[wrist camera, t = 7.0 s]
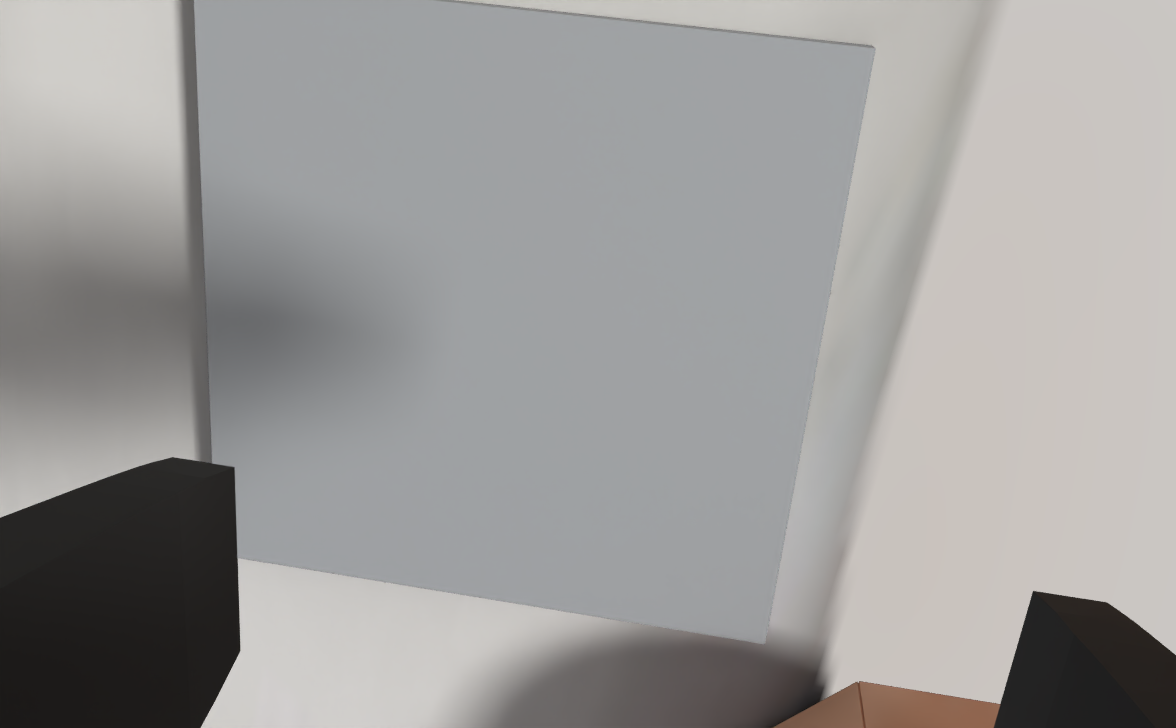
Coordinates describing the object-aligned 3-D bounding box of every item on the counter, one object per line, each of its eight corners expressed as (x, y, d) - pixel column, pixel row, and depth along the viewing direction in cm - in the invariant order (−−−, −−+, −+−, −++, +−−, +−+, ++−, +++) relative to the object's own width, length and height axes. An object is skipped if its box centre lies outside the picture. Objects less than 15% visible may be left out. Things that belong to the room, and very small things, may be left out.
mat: (764, 629, 21) (764, 644, 21) (227, 541, 22) (215, 553, 22) (872, 45, 17) (875, 48, 17) (206, -27, 18) (192, -26, 18)
